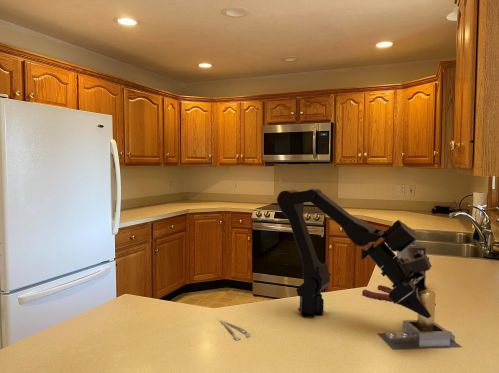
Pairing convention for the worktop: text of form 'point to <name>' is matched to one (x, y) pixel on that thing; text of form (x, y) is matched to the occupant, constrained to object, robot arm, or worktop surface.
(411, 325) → the grey framed plate
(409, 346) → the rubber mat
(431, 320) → the amber cylinder
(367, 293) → the pliers
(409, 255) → the coffee box
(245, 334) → the tweezers
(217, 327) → the worktop surface
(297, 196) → the robot arm
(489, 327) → the worktop surface
